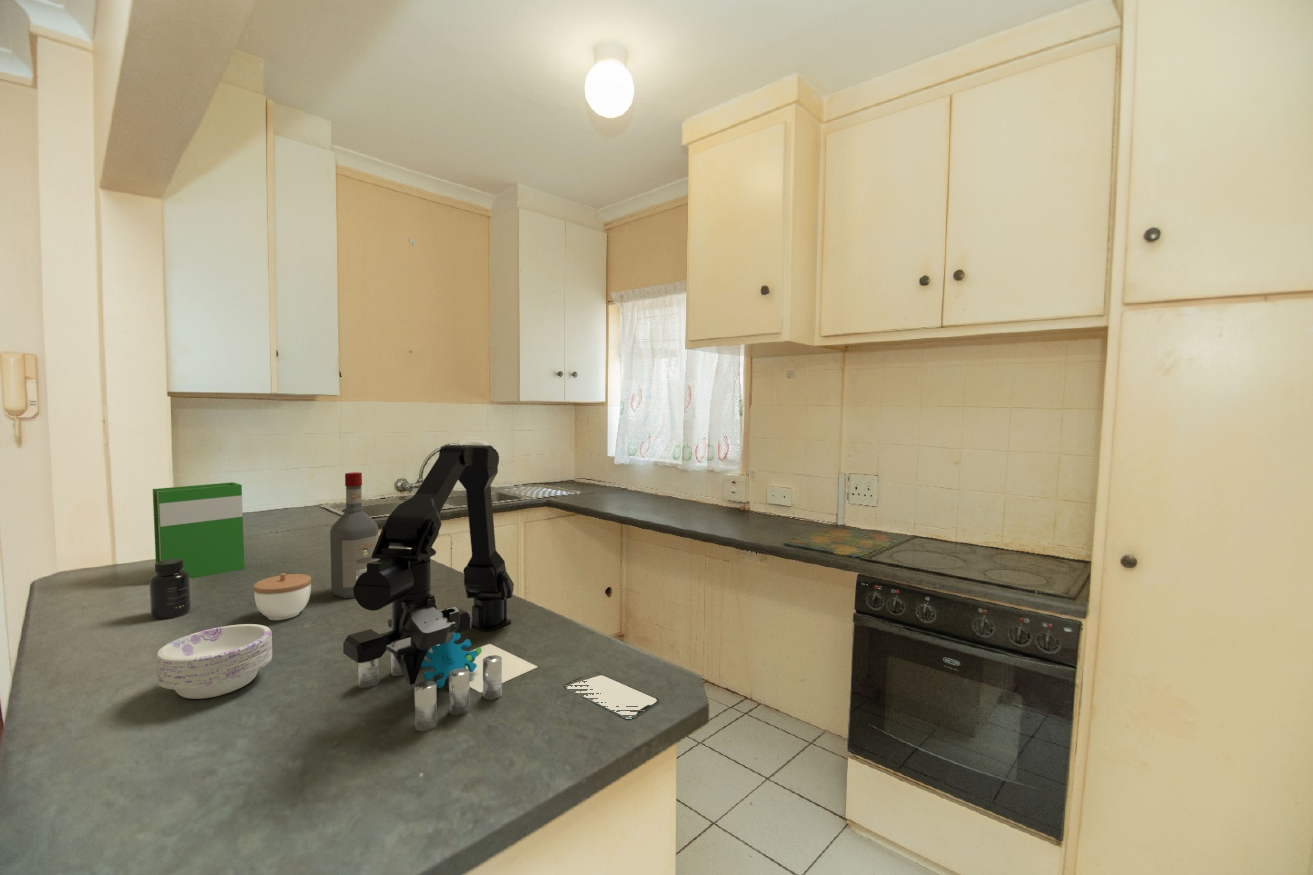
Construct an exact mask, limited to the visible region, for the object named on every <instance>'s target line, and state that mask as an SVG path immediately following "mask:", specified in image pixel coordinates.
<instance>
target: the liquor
mask: <svg viewBox="0 0 1313 875" xmlns="http://www.w3.org/2000/svg"><path fill="white" fill-rule="evenodd" d="M362 473H363V472H356V471H355V472H353V471H352V472H345V474H344V486H345V508H344V513H343V514H342V515H341V516H340V517H339V518H338V519H337V520H336V521H335V522H334V524H333V525H332V526H331V529H330V531H329V538H330V571H331V572H330V573H331V575H330V578H331V579H330V580H331V586H330V587H331V593H332V594H333V596H336V597H339V598H341V599H355V596H354V591H353V590H354V586H355V583H356V581H357V579H358V577H359V576H360V575H361V574H363V573H365V572H367V563H369V562H372V561H377V560H380V559H372V553H373V551H374V548H375V546H376V543H377V541H378V538H379V526H378V524H377V522H376V521H375V520H374V519H373V518H371V516H370V515H368V513H367V512H366V511H364V507H363V498H362V497H363V496H362V486H363V474H362Z"/></svg>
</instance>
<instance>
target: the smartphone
mask: <svg viewBox="0 0 1313 875" xmlns="http://www.w3.org/2000/svg"><path fill="white" fill-rule="evenodd" d="M595 673H596V674H598V676H597V675H596V676H594V677H591V678H587V679H585V680H580V679H582V678H584V677H585V675H584V676H581V677H578V678H576V679H573V680H572V681H574V682H575V683H573V682H571V681H570V682H567V683H565V684H564V685H566V686H568V685H573V686H572V687H571V686H568V687H567V688H565V686H564V685H563V688H564V689H565V690H567V689H588V690H587V691H581V692H580V691H576V692H573V691H571V690H569V692H570V691H571V692H570V693H572V692H573V693H572V694H574V693H594V695H592V694H591V695H590V694H588V696H586V695H584V696H582V697H581V698H583V699H584V698H598V699H593V700H590V699H587V701H588V700H589V701H588V702H591V703H592V702H595V704H594V705H596V702H599V703H597V705H596V706H597V707H600V706H602V707H603V706H606V707H603V708H602V707H601V708H602V709H604V708H605V709H604V710H606V711H607V710H611V712H610V713H612V712H613V713H614V714H613V713H612V714H613V715H615V714H617V715H620V716H622V715H640V714H641V713H643V712H644V711H637V712H630V711H620V712H616V711H617V710H648V709H649V710H650V708H651V707H652V708H654V707H655V706H657V705H658V704H659V703H660V700H659V698H658V697H655V696H653V695H650V694H649V693H646V692H643V691H641V690H639V689H637V688H635V687H633V686H630V685H628V684H625V683H623V682H622V681H618V680H616V679H614V678H611V677H609V676H607V675H605V674H602V673H600V672H599V671H597V672H595ZM579 680H580V681H579ZM576 681H578V682H576ZM582 681H587V682H585V683H584V682H582ZM579 682H580V683H579ZM571 683H572V684H571ZM574 685H589V686H588V687H587V686H582V687H580V686H577V687H575V686H574ZM590 689H593V690H590ZM596 693H599V694H596ZM600 693H601V694H600ZM601 702H603V703H601ZM605 702H606V703H605ZM607 706H608V707H607ZM616 706H619V707H616ZM626 706H638V707H626ZM653 706H654V707H653ZM652 708H651V709H652ZM612 710H615V711H612ZM649 710H648V711H649ZM637 713H638V714H637ZM644 713H645V712H644ZM644 713H643V714H644ZM617 715H616V716H617ZM641 715H642V714H641ZM641 715H640V716H641ZM631 717H632V716H629V717H624V716H623V718H625V719H624V720H626V719H632V718H631ZM623 718H622V719H623ZM633 718H634V717H633Z"/></svg>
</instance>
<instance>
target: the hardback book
mask: <svg viewBox="0 0 1313 875" xmlns="http://www.w3.org/2000/svg"><path fill="white" fill-rule="evenodd" d="M242 486H243V485H242V484H240V483H237V482H232V481H231V482H230V481H229V482H221V483H220V482H219V483H209V484H208V483H207V484H199V485H198V484H197V485H196V484H195V485H185V486H184V485H183V486H172V487H162V488H152V505H153V527H154V529H153V530H154V532H153V533H154V549H155V550H154V552H155V563H157V562H159V561H163V560H168V559H182V560H183V564H184V568H183V570H184V571H187V572H188V573H189V575H190V578H192V579H197V578H196V577H198V578H202V577H201V576H203V577H207V576H206V575H208V576H213V574H214V575H219V574H223V573H224V574H225V573H230V572H234V571H239V570H245V548H244V547H245V546H244V545H245V544H244V521H243V520H244V518H243V515H244V514H243V492H242V491H243V489H242V488H243V487H242Z"/></svg>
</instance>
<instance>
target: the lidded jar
mask: <svg viewBox="0 0 1313 875" xmlns="http://www.w3.org/2000/svg"><path fill="white" fill-rule="evenodd" d="M311 583H312V577H311V576H310V575H308V574H304V573H292V574H291V573H290V574H289V573H288V574H286V573H284V572H283V573H280V574H279V575H275V576H270V577H267V578H264V579H261V580H259V581H257V582H255V583H254V584H253V586H252V587H253V594H254V601H255V602H254V603H255V605H256V608H257V610H258V611H259V612H260V614H262V615H263V616H264V617H266V618H267V620H269V621H283V620H287V619H292V618H294V617H297V616H299V615H300V614H301V612H302V610H304V608H306V606H307V604H308V602H309V600H310V597H311V591H312V590H311V589H312V584H311Z"/></svg>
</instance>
